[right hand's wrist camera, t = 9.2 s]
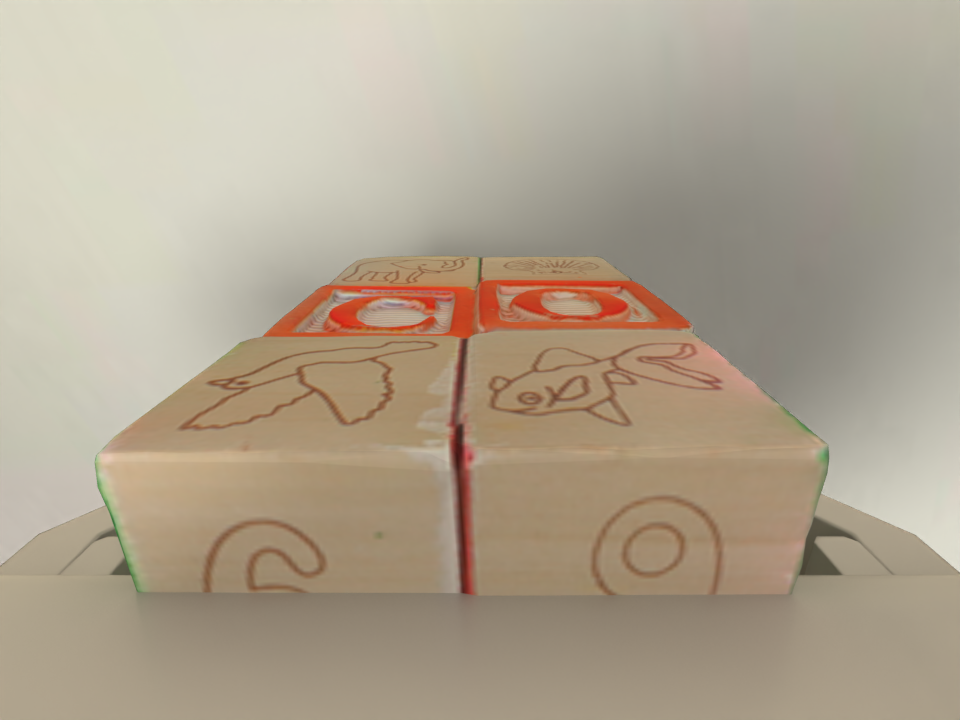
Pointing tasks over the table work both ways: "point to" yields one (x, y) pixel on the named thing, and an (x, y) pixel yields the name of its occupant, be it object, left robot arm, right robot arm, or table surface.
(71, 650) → the right robot arm
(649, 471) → the stack of blocks
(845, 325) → the table surface
